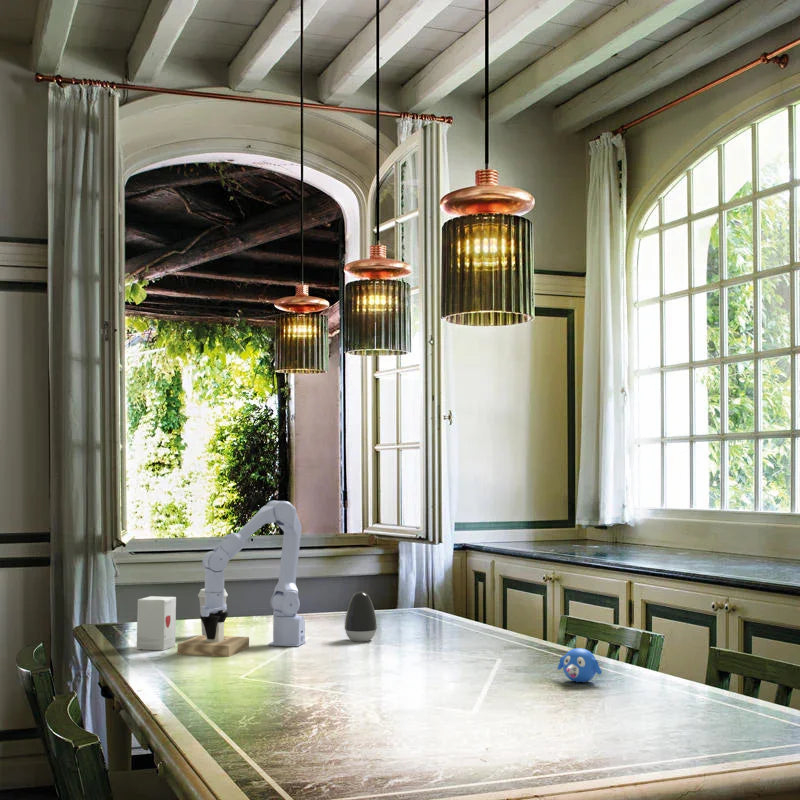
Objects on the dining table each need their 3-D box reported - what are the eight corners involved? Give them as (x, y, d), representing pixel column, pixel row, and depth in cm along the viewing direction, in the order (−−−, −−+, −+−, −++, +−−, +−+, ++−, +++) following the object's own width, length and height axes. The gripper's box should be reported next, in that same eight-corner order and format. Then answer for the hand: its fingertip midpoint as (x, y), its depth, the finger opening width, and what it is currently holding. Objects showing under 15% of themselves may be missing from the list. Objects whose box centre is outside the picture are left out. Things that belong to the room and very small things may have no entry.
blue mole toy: (544, 684, 259) (544, 650, 259) (565, 676, 268) (564, 643, 269) (589, 690, 252) (589, 655, 252) (608, 682, 262) (608, 648, 262)
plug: (223, 642, 310) (224, 617, 310) (218, 644, 306) (218, 619, 306) (211, 642, 310) (211, 616, 311) (205, 644, 307) (206, 618, 307)
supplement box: (163, 650, 308) (164, 599, 309) (135, 650, 310) (136, 599, 311) (176, 645, 317) (177, 596, 318) (149, 644, 318) (149, 595, 319)
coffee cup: (224, 638, 330) (224, 591, 331) (194, 638, 330) (195, 591, 331) (229, 633, 339) (230, 587, 340) (200, 633, 340) (201, 587, 341)
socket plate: (249, 647, 314) (249, 637, 314) (229, 656, 298) (229, 645, 299) (199, 645, 318) (199, 635, 318) (177, 654, 302) (177, 643, 302)
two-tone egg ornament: (378, 638, 331) (378, 589, 332) (374, 643, 320) (374, 593, 321) (347, 637, 332) (347, 589, 333) (342, 642, 321) (342, 593, 322)
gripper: (211, 588, 317) (211, 633, 316) (191, 594, 303) (191, 641, 302) (233, 589, 316) (232, 634, 315) (214, 594, 301) (214, 642, 301)
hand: (214, 638), depth 308 cm, fingers closed on plug, 4 cm apart
